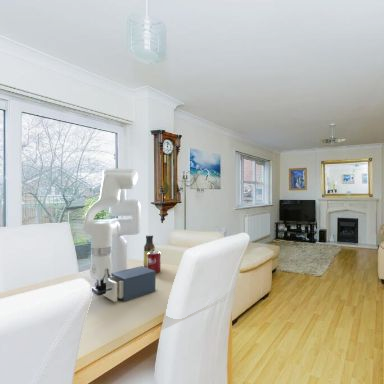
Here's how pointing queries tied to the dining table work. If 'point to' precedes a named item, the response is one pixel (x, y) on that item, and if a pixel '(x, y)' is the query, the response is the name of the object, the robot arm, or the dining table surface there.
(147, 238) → the sauce bottle
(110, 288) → the white drawer
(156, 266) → the soda can
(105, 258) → the robot arm
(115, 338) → the dining table surface
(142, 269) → the blue-grey drawer housing
